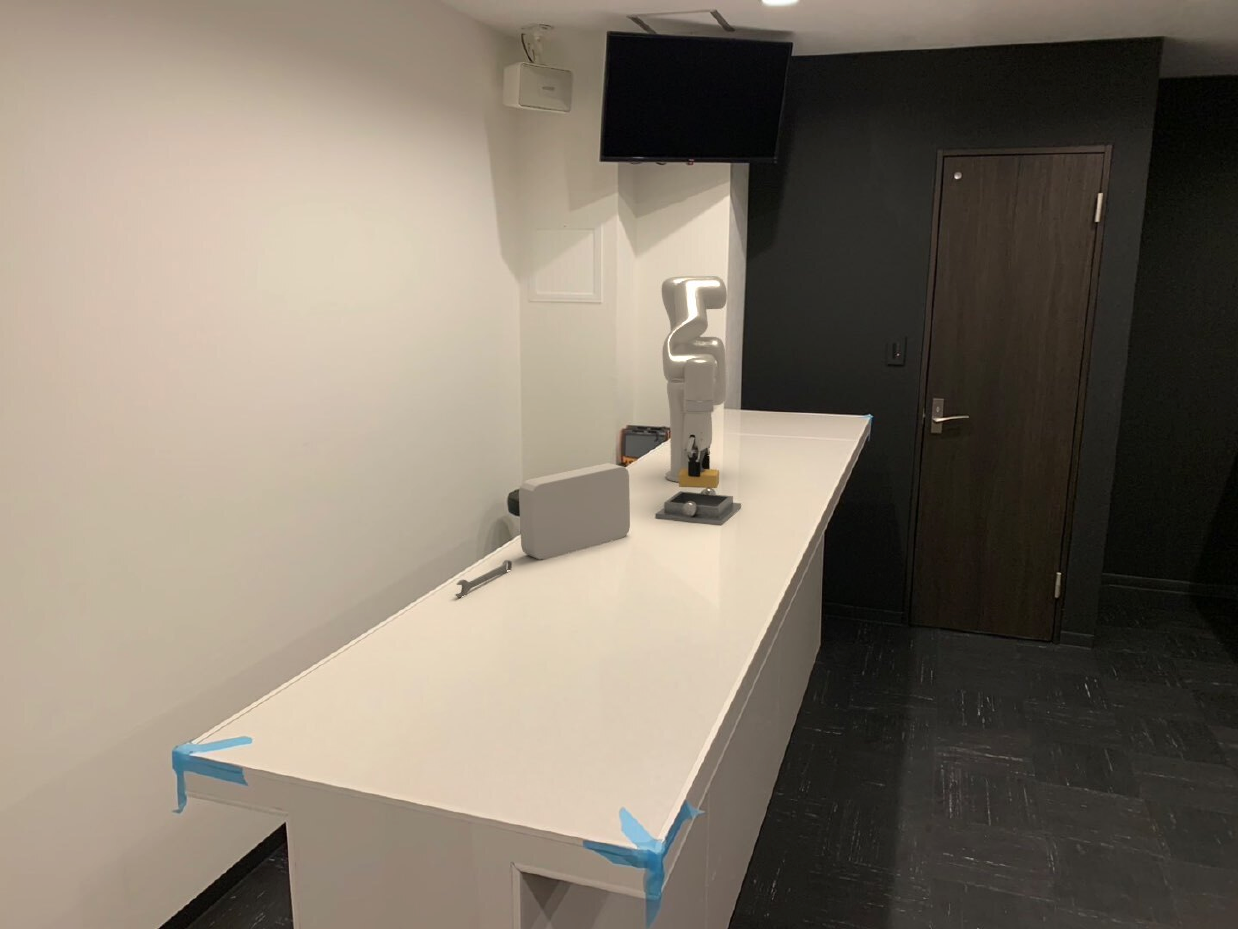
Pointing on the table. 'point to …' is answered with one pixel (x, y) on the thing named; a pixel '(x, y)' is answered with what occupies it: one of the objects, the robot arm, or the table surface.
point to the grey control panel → (574, 510)
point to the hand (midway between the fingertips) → (699, 472)
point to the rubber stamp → (706, 479)
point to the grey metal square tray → (699, 507)
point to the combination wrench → (482, 578)
